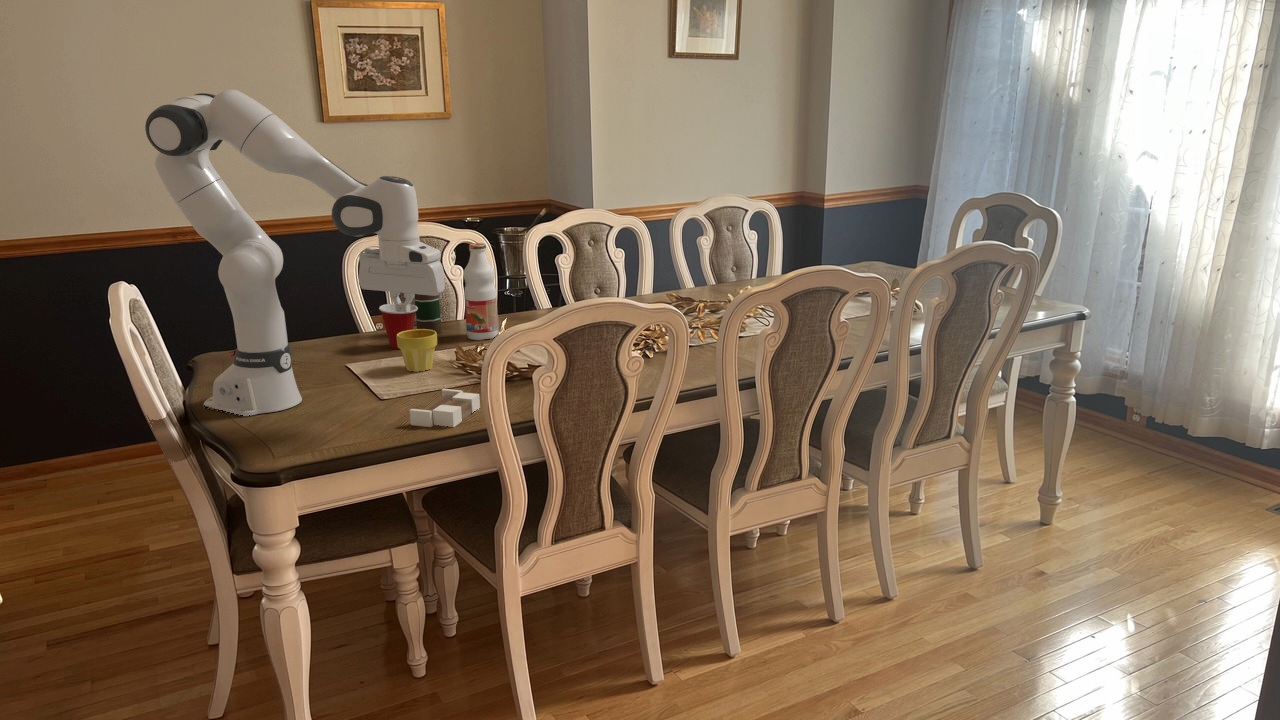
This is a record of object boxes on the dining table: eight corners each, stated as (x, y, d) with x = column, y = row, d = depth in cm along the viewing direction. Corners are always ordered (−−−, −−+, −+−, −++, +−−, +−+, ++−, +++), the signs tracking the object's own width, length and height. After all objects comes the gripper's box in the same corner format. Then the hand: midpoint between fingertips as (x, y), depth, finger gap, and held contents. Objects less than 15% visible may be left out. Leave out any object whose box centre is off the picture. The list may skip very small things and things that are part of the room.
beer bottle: (412, 335, 281) (405, 257, 274) (422, 329, 289) (416, 252, 282) (436, 336, 280) (431, 257, 273) (446, 330, 287) (440, 253, 281)
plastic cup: (415, 351, 264) (412, 310, 261) (377, 351, 265) (374, 310, 261) (425, 341, 275) (422, 301, 271) (388, 341, 275) (385, 302, 272)
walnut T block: (423, 422, 209) (422, 409, 208) (446, 406, 219) (445, 394, 218) (455, 425, 207) (454, 412, 206) (477, 409, 217) (476, 397, 216)
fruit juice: (503, 338, 278) (498, 245, 270) (473, 342, 273) (467, 248, 265) (492, 331, 285) (486, 240, 277) (462, 335, 281) (456, 243, 273)
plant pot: (422, 360, 256) (420, 326, 253) (447, 367, 249) (444, 332, 247) (391, 369, 248) (388, 334, 245) (415, 376, 242) (412, 340, 239)
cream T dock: (410, 424, 208) (409, 410, 207) (444, 402, 222) (443, 388, 221) (451, 429, 205) (449, 414, 204) (482, 406, 219) (481, 392, 218)
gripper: (350, 249, 207) (355, 310, 211) (432, 256, 201) (435, 318, 205) (367, 245, 213) (370, 304, 217) (447, 251, 207) (449, 312, 211)
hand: (402, 311), depth 211 cm, fingers closed
